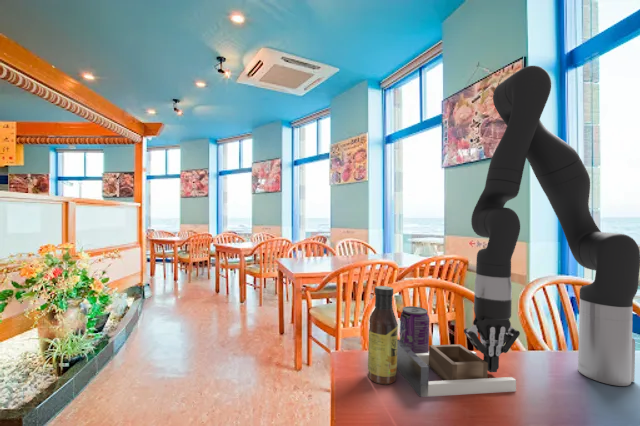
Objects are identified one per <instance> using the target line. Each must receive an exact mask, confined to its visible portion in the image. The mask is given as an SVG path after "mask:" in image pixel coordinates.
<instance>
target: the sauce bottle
mask: <svg viewBox="0 0 640 426" xmlns="http://www.w3.org/2000/svg"><path fill="white" fill-rule="evenodd" d="M374 295H375V299H374V300H375V301H374V302H375V303H374V308H373V310H372V312H371V314H370V316H369V320H368V321H369V328H368V348H367V349H368V352H367V353H368V355H367V356H368V357H367V370H368V373H367V374H368V375H367V376H368V378H369V380H371V381H372V382H374V383H376V384H378V385H390V384H393V383H395V381H396V380H397V373H398V369H397V343H398V339H399V338H398V336H399V335H398V332H399V331H398V330H399V328H398V327H399V325H398V320H397V318H396V315H395V311H394V308H393V296H394V288H393V287H391V286H385V285H379V286H378V285H376V286H375V287H374Z"/></svg>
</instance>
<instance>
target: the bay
mask: <svg viewBox="0 0 640 426" xmlns="http://www.w3.org/2000/svg"><path fill="white" fill-rule="evenodd" d="M470 351H471V350H470ZM471 352H472V353H474V354H475V355H477V354H478V353H477V352H476V351H474V350H473V351H471ZM477 356H478V355H477ZM429 369H430V367H429V352H428V353H414V352H413V351H412V350H411V349H410V348H409V347H408V346H407V345H406V344H405V343H403V342H402V341H401V340H400V338H398V343H397V371H398V372H399V373H400V374H401V375H402V376H403V378H404V379H405V380H406V381H407V383H409V385H410V386H411V387H412V388H413V390H414V391H415V393H417V395H418V396H419V397H420V398H423V397H424V398H427V397H442V396H443V397H445V396H459V395H476V394H494V393H496V394H497V393H511V392H517V379H516V378H514V377H513V376H507V377H506V376H505V377H489V378H488V377H487V378H484V379H464V380H445V381H443V380H430V381H429V377H430V376H429V374H430V373H429V372H430V371H429Z"/></svg>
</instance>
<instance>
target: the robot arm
mask: <svg viewBox="0 0 640 426" xmlns="http://www.w3.org/2000/svg"><path fill="white" fill-rule="evenodd" d="M551 79H552V78H551V77H550V74H549V72H548V70H546V69H544V68H543V67H541V66H538V65H528V66H525V67H522V68H521V69H518V70H516V71H515V72H514V73H513V74H511V75H510V76H509V77H507V78H506V79H505V80H503V81H502V82H500V83H499V84H498V85H497V86H496V87H495V88H494V90H493V94H492V100H493V105H494V108H495V110H496V112H497V114H498V115H499V117H500V118H501V119H502V121H503V122H504V124H505V125H506V128H505V130H504V132H503V135H502V136H501V139H500V140H499V143H498V144H497V146H496V148H495V150H494V152H493V155H492V158H491V160H490V162H489V165H488V171H487V175H486V179H485V185H484V189H483V191H482V193H481V195H480V196H479V198H478V200H477V202H476V205H475V206H474V209H473V211H472V214H471V220H470V222H471V223H470V224H471V228H472V230H473V232H474V233H475V234H476V235H477V236H479V237H480V238H481V237H482V238H486V239H487V238H488V241H487V245H486V247H484V248H481V249H479V250H478V252H477V253H476V264H475V265H476V266H475V267H476V268H475V272H476V274H475V279H474V293H473V294H474V296H473V297H474V300H473V301H474V302H473V312H474V319H473V321H472V324H473V325H472V326H470V328H464V330H463V333H464V335H465V336H466V337H467V338H468V340H469V342H470V343H471V345H472V346H473V347H474V349H475V350H476V351H478V352H480V353H481V354H483V359H482V360H484V361H485V362H487V363H488V372H489V373H497V372H498V370H499V368H500V366H499V365H500V356H501V354H507V353H508V352H509V351H510V349H511V347H512V346H513V344H515V342H516V340H517V339H518V338H519V336H520V334H521V332H520V331H519V330H517V329H515V328H514V327H513V326H512V323H511V320H510V319H511V318H512V306H513V305H512V299H513V298H512V297H513V296H512V295H513V294H512V293H513V285H512V258H513V254H514V252H515V250H516V245H517V242H518V239H519V236H520V232H521V221H520V218H519V216H518V213H516V212H515V210H513V209H511V208H509V207H505V205H506V204H507V202H509V201H510V200H513V199H515V198H516V197H518V194H519V193H520V189H521V184H522V180H523V173H524V169H525V164H526V161H527V162H528V164H529V166H530V168H531V169H532V171H533V174H534V176H535V177H536V179H537V182H538V183H539V185H540V187H541V189H542V191H543V193H544V194H545V196H546V198H547V200H548V201H549V204H550V205H551V207H552V209H553V211H554V214H555V216H556V217H557V220H558V221H559V223H560V226H561V228H562V231H563V234H564V236H565V239H566V241H567V245H568V247H569V249H570V251H571V254H572V256H573V258H574V260H575V261H576V262H577V263H578V264H579V266H581V267H583V268H585V269H587V270H592V271H595V274H594V275H595V277H594V280H593V281H592V282H591V283H590V284H585V285H582V286H581V287H580V288H579V307H578V308H579V309H578V312H579V314H578V317H579V318H578V322H579V323H578V354H577V355H578V356H577V358H578V359H577V370H578V372H579V373H580V374H581V375H583V376H585V377H586V378H588V379H591V380H594V381H596V382H600V383H602V384H605V385H611V386H617V387H618V386H619V387H628V386H630V385H632V382H635V380H636V379H635V374H636V373H635V372H636V371H635V370H636V369H635V368H636V366H635V365H636V339H635V338H634V337H633V310H634V309H633V308H634V307H633V301H634V298H635V297H636V295H637V292H638V289H639V281H640V280H639V279H640V248H639V247H640V246H639V245H638V244H637V242H636V240H635V239H634V238H633V237H631V236H629V235H627V234H626V233H625V234H624V233H618V232H602V231H601V229H599V227H598V225H597V224H596V222H595V220H594V218H593V216H592V214H591V212H590V206H589V202H590V201H589V200H590V191H591V179H590V176H589V172H588V170H587V168H586V166H585V164H584V163H583V161H582V159H581V157H580V155H579V153H578V152H577V151H576V150H575V148H573V146H571V145H570V144H568V143H567V142H566V141H565V140H563V139H561V137H559V136H557V135H556V134H555V133H553V132H552V131H550V130H549V129H548V128H547V127H546V126H545V125H544V124H543V122H542V121H541V116H542V115H543V112H544V109H545V107H546V104H547V102H548V99H549V96H550V95H551V91H552V80H551Z"/></svg>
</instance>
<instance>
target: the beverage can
mask: <svg viewBox="0 0 640 426" xmlns="http://www.w3.org/2000/svg"><path fill="white" fill-rule="evenodd" d="M399 318H400V319H399V320H400V321H399V323H400V326H399V328H400V329H399V339H400V340H401V341H402V342H403V343H405V344H406V345H407V346H408V347H409V348H410V349H411V350H412V351H413V352H414V353H429V344H430V343H429V341H430V317H429V314H428V309H426V308H423V307H419V306H410V305H409V306H403V307H402V312H401V313H400V317H399Z"/></svg>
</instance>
